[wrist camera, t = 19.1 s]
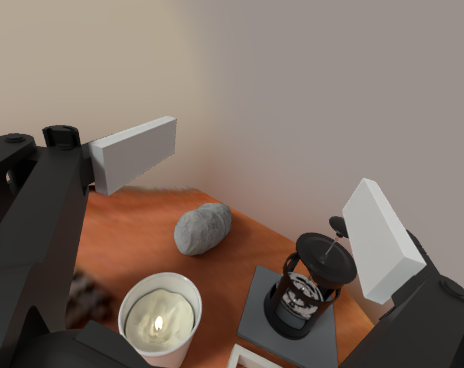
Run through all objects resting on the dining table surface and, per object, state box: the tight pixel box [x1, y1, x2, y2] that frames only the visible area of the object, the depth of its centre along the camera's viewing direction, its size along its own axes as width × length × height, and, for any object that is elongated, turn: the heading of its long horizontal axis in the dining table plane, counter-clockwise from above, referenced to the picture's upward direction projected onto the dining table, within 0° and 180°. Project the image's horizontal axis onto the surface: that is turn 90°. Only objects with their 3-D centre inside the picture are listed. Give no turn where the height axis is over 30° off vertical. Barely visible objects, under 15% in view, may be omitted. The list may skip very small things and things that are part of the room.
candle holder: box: [118, 272, 202, 368], centre depth 29 cm, size 10×10×12 cm
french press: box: [263, 216, 357, 340], centre depth 34 cm, size 12×9×23 cm
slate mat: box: [236, 264, 338, 368], centre depth 41 cm, size 15×17×1 cm
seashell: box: [174, 203, 232, 256], centre depth 51 cm, size 16×15×10 cm
